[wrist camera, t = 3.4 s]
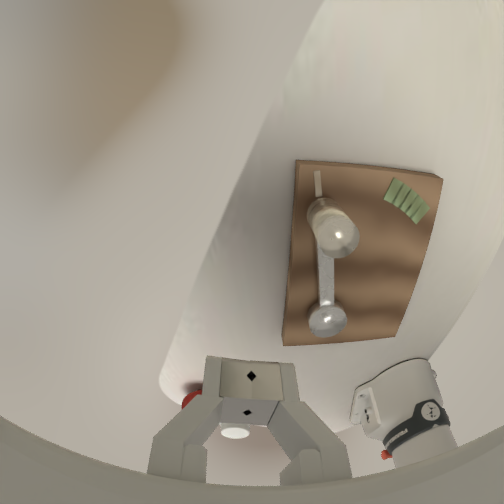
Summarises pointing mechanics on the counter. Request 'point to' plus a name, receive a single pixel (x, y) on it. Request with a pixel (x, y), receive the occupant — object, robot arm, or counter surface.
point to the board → (360, 247)
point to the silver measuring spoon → (329, 263)
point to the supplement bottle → (234, 430)
